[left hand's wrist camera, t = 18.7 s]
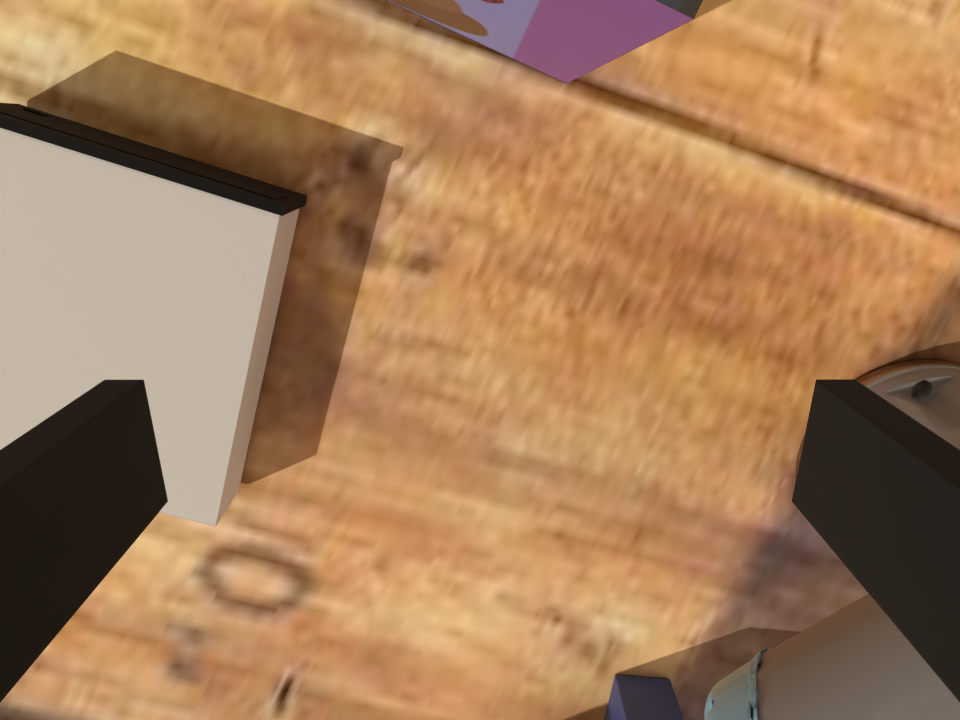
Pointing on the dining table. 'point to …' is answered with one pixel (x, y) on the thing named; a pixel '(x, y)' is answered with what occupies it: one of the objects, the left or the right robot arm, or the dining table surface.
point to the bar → (642, 699)
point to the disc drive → (139, 292)
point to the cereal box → (558, 28)
